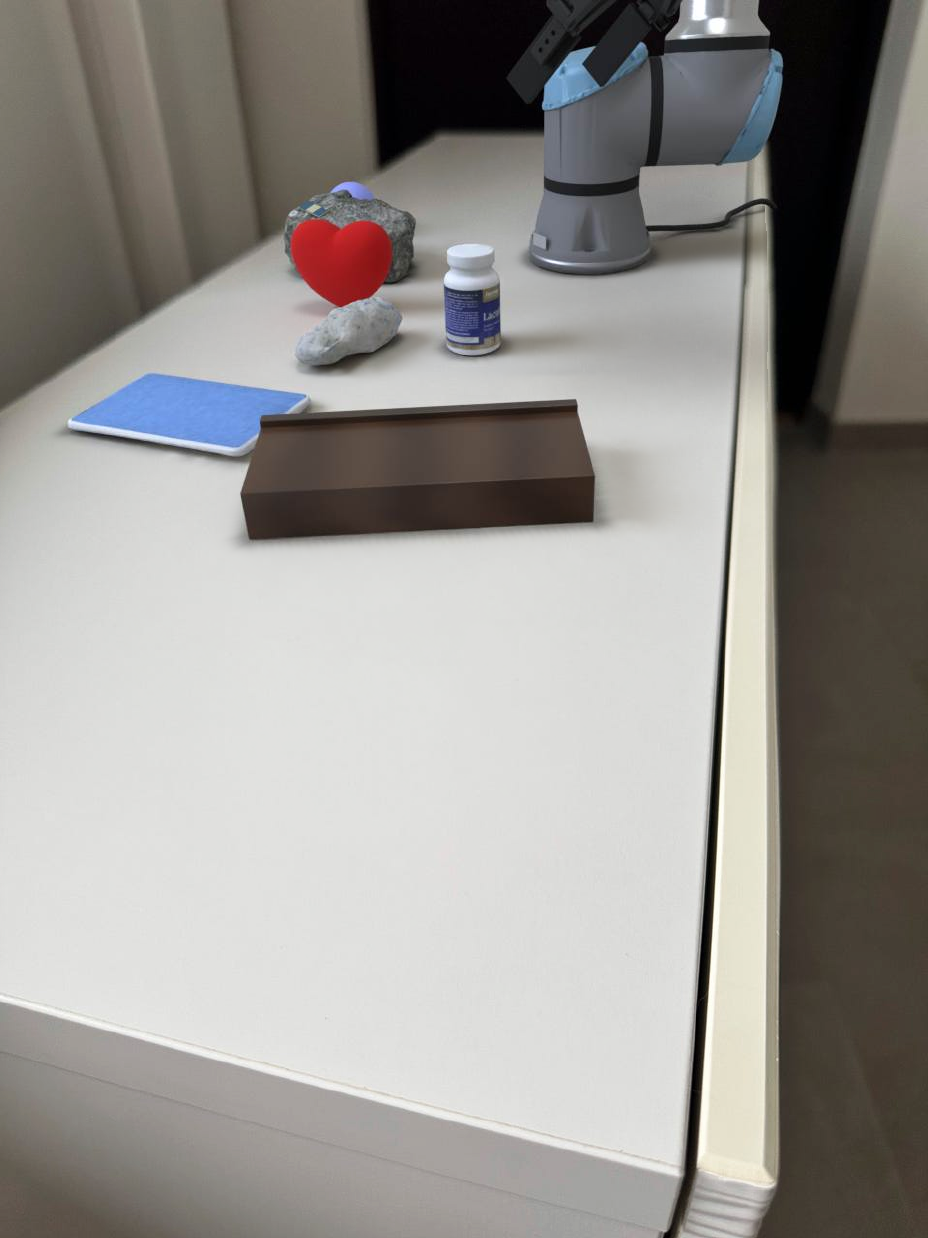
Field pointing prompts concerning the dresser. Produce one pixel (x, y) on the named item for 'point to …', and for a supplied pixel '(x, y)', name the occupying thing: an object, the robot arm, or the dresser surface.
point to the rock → (349, 209)
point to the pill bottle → (472, 300)
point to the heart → (342, 259)
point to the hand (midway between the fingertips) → (557, 82)
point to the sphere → (355, 190)
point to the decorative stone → (350, 331)
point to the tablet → (188, 413)
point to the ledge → (418, 470)
